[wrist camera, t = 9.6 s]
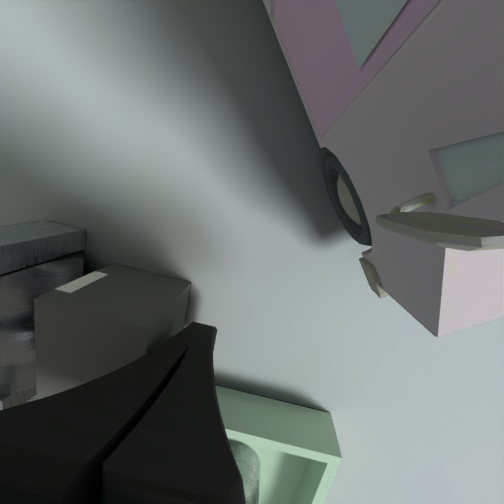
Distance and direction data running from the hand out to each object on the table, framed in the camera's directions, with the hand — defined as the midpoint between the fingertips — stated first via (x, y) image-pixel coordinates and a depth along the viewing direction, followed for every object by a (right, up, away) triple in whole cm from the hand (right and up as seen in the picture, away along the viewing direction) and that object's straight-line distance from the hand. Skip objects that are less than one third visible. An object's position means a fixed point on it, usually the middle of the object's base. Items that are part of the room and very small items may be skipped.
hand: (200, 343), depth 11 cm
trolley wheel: (-7, +2, +2) cm, 8 cm away
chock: (-3, +1, +2) cm, 4 cm away
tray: (+2, -8, +3) cm, 9 cm away
